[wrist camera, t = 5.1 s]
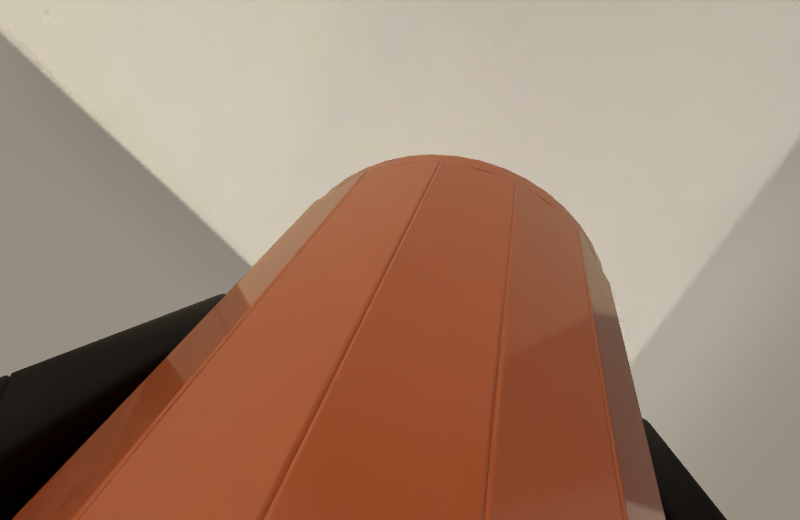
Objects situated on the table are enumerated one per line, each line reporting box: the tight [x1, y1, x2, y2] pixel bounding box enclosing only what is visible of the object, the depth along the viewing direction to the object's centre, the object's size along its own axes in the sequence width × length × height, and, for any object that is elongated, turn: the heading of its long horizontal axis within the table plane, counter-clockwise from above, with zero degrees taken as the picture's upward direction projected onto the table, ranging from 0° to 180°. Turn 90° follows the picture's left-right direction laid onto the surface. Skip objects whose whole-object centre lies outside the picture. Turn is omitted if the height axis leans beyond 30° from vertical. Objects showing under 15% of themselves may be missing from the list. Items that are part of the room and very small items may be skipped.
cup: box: [11, 155, 666, 520], centre depth 7 cm, size 6×6×8 cm
